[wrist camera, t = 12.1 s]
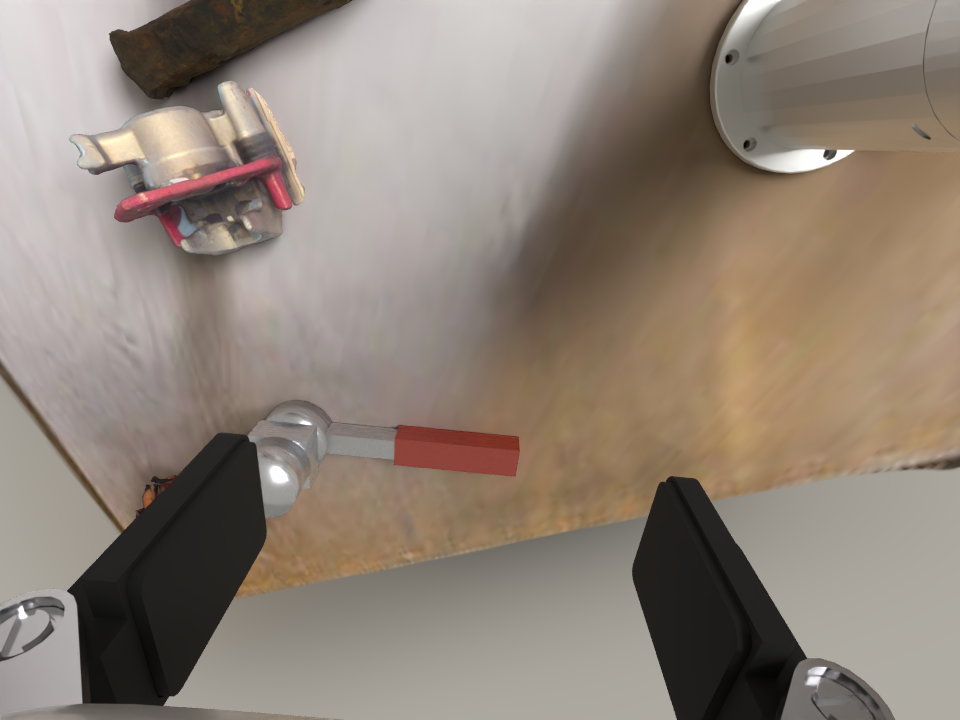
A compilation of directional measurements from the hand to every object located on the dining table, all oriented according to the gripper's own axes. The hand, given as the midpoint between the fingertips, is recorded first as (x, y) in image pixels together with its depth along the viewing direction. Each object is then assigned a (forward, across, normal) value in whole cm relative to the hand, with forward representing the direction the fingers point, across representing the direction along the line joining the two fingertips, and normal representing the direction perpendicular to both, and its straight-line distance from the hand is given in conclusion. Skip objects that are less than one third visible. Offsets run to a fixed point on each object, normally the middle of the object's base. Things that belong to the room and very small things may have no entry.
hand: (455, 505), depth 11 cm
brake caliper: (+29, +19, -3) cm, 35 cm away
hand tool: (+29, +15, -14) cm, 36 cm away
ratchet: (+28, +7, +18) cm, 34 cm away
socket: (+26, +15, +18) cm, 35 cm away
